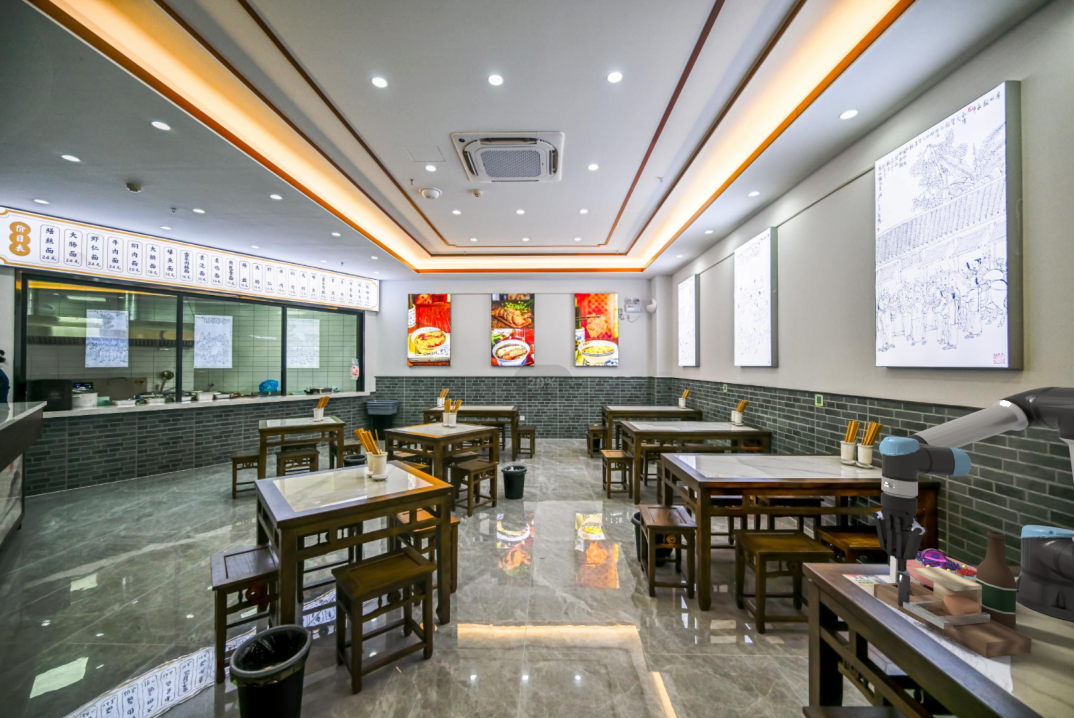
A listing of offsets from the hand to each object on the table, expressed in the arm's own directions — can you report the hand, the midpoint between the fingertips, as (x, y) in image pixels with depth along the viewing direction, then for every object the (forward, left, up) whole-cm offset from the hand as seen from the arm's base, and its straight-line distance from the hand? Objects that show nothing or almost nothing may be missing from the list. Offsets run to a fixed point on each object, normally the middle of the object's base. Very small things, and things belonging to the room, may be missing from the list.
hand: (896, 581), depth 113 cm
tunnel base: (-11, +4, -9) cm, 15 cm away
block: (-12, +7, -6) cm, 15 cm away
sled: (-7, +6, -6) cm, 11 cm away
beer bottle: (-25, +6, -10) cm, 27 cm away
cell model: (-30, -10, -10) cm, 33 cm away
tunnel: (-12, +3, -6) cm, 14 cm away
